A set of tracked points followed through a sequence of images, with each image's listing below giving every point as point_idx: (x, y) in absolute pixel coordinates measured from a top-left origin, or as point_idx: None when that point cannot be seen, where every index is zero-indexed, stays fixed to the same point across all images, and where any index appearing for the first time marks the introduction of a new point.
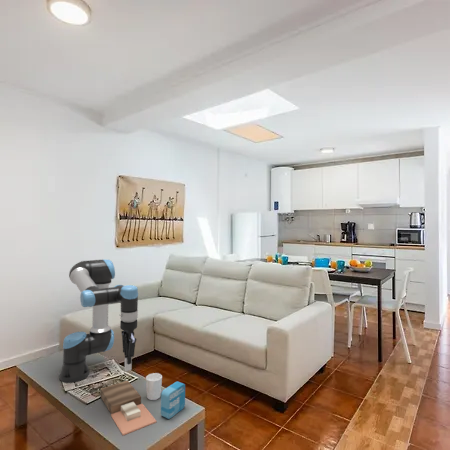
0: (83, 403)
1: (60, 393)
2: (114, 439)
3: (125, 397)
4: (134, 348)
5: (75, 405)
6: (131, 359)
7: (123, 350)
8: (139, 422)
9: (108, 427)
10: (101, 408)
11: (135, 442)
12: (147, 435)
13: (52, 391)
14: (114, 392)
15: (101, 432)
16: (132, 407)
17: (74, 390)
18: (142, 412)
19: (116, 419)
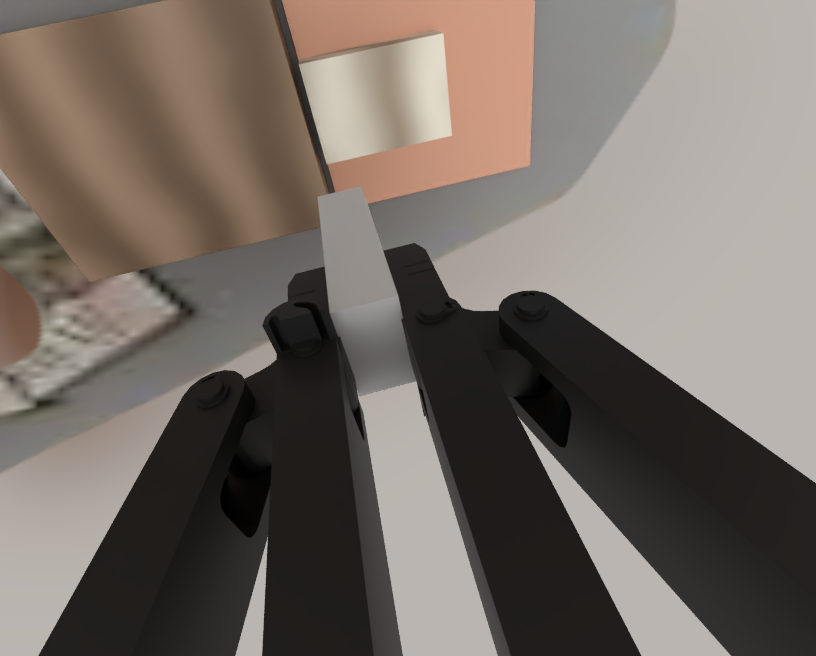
0: (181, 328)
1: (65, 420)
2: (527, 202)
3: (249, 125)
4: (761, 452)
5: (194, 356)
6: (385, 259)
7: (265, 482)
8: (488, 54)
9: (431, 222)
10: (251, 249)
11: (607, 109)
12: (604, 28)
13: (43, 447)
14: (158, 196)
15: (451, 251)
16: (375, 87)
17: (28, 375)
18: (394, 2)
19: (397, 185)
